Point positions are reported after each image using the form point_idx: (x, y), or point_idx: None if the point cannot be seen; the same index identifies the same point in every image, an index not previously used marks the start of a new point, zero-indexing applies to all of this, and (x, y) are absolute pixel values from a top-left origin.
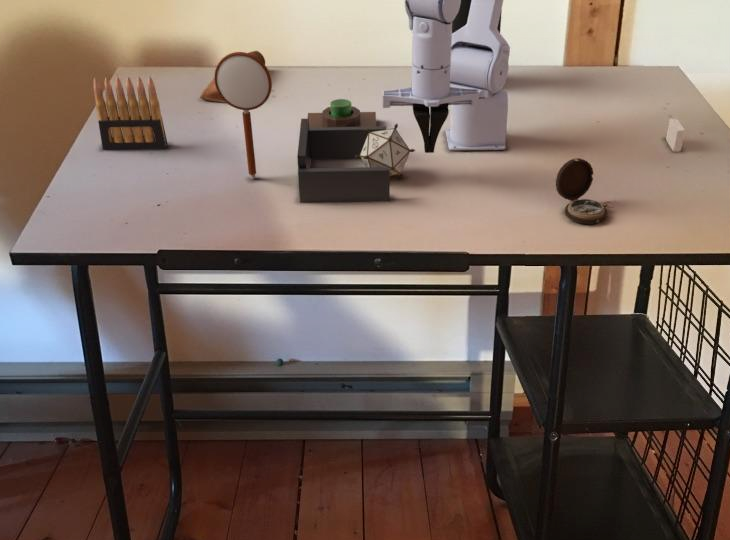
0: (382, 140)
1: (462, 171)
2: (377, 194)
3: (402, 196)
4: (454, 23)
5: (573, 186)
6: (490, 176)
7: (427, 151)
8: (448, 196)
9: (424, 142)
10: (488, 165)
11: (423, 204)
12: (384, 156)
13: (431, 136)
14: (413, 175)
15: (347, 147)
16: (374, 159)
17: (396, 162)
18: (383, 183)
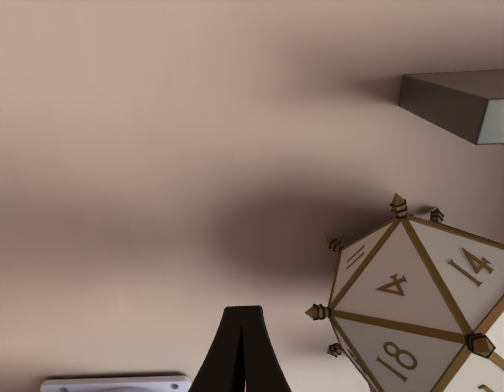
0: (501, 341)
1: (142, 281)
2: (467, 76)
3: (346, 113)
4: None
5: None
6: (50, 254)
7: (252, 308)
8: (171, 115)
9: (268, 341)
10: (71, 312)
11: (268, 42)
12: (460, 260)
13: (232, 369)
14: (293, 258)
15: None
16: (501, 248)
17: (389, 244)
18: (472, 85)
